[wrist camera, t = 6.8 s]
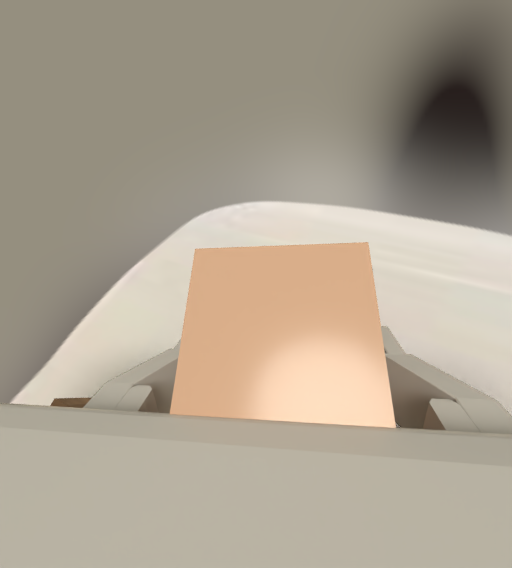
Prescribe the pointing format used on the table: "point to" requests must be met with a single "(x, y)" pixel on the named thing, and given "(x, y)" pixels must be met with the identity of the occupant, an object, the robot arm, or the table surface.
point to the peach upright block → (284, 337)
